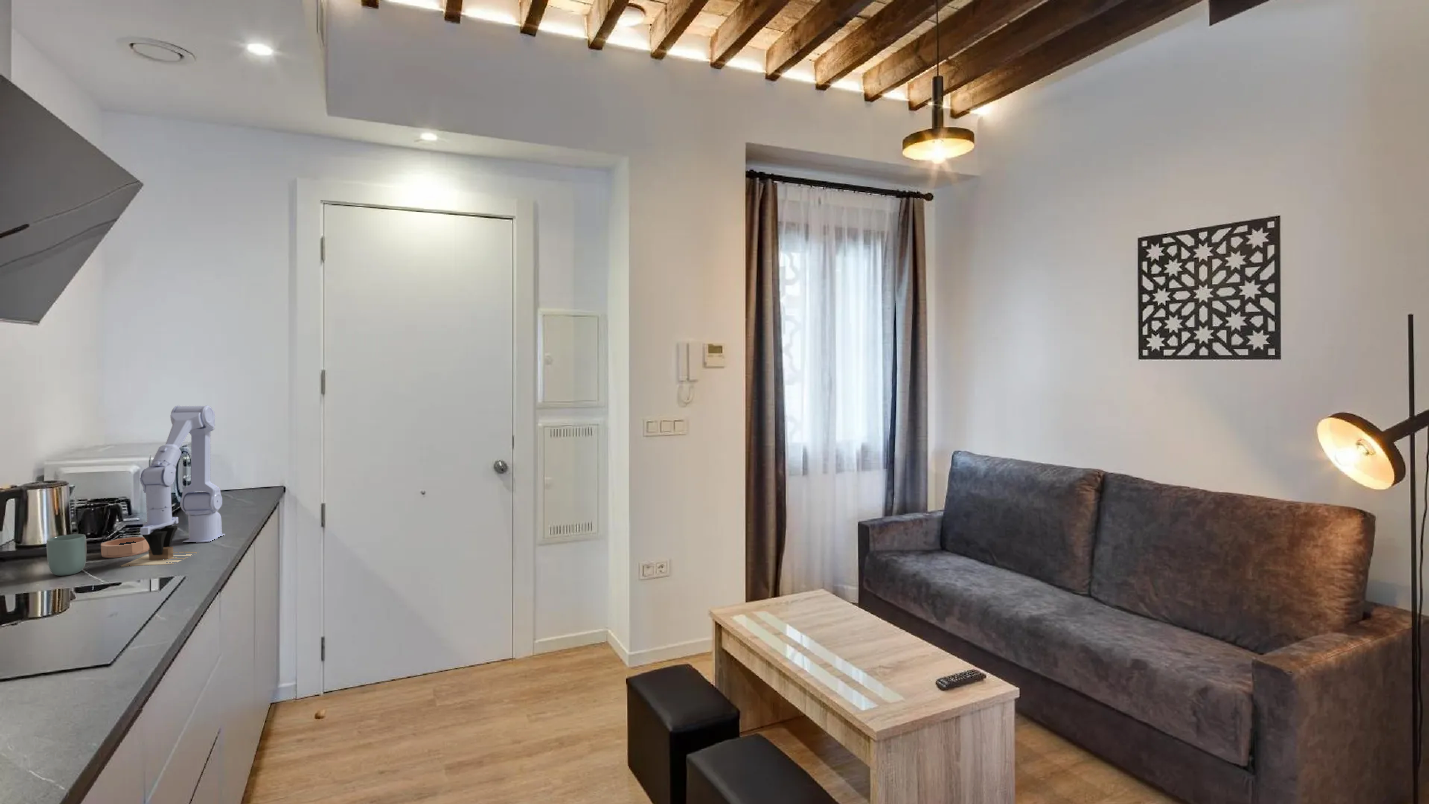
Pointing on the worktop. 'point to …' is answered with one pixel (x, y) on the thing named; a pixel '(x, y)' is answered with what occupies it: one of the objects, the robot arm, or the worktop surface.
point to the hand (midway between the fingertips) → (161, 553)
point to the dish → (124, 547)
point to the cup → (66, 554)
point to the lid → (157, 558)
